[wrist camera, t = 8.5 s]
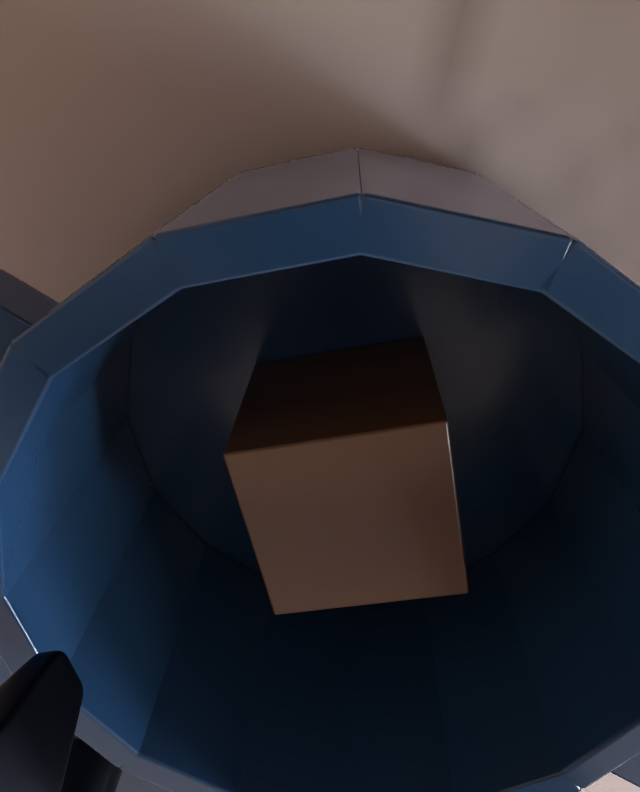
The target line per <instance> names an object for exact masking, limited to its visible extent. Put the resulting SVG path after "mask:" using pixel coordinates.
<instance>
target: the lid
mask: <svg viewBox="0 0 640 792" xmlns="http://www.w3.org/2000/svg"><path fill="white" fill-rule="evenodd" d="M11 676H12V674H11V672H10V671H9V669H8V667H7V666H6V664H5V663H4V661H3V659H2V658H1V656H0V686H1V685H2V684H3V683H4V682H5V681H6V680H7V679H8V678H9V677H11ZM61 792H173V791H170V790H168V789H166V788H163V787H161V786H158V785H156V784H154V783H151V782H149V781H146V780H144V779H142V778H139V777H137V776H134V775H132V774H130V773H127V772H125V771H123V770H121V769H119V767H116V766H114V765H113V764H111V763H110V762H109V761H108V760H106V759H105V758H104V757H103V756H101V755H100V754H99V753H98V752H96V751H95V750H94V749H93V748H91V747H90V746H89V745H87V744H86V743H85V742H84V741H82V740H81V739H80V738H79V737H77V736H76V735H75V734H74V738H73V743H72V747H71V751H70V755H69V760H68V764H67V768H66V773H65V777H64V781H63V785H62V789H61Z"/></svg>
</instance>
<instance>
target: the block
mask: <svg viewBox="0 0 640 792" xmlns="http://www.w3.org/2000/svg"><path fill="white" fill-rule="evenodd" d="M223 457H224V460H225V463H226V466H227V469H228V472H229V475H230V478H231V482H232V485H233V488H234V491H235V494H236V497H237V500H238V503H239V506H240V510H241V513H242V516H243V519H244V522H245V525H246V528H247V531H248V534H249V537H250V541H251V544H252V547H253V550H254V553H255V556H256V559H257V562H258V565H259V569H260V572H261V575H262V578H263V581H264V584H265V587H266V590H267V593H268V597H269V600H270V603H271V606H272V609H273V612H274V614H275V615H279V614H288V613H297V612H306V611H315V610H324V609H333V608H342V607H351V606H360V605H369V604H378V603H387V602H396V601H405V600H414V599H423V598H432V597H441V596H450V595H459V594H467V593H468V592H469V586H468V578H467V570H466V562H465V554H464V546H463V537H462V529H461V521H460V513H459V505H458V497H457V489H456V481H455V473H454V465H453V456H452V448H451V440H450V432H449V424H448V419H447V416H446V412H445V409H444V406H443V402H442V399H441V395H440V392H439V388H438V385H437V381H436V378H435V374H434V371H433V367H432V364H431V361H430V357H429V354H428V350H427V347H426V343H425V340H424V337H422V336H420V337H414V338H408V339H402V340H396V341H391V342H385V343H379V344H373V345H367V346H361V347H355V348H349V349H343V350H337V351H331V352H325V353H320V354H314V355H308V356H302V357H296V358H290V359H284V360H278V361H272V362H266V363H260V364H256V365H255V366H254V369H253V372H252V375H251V377H250V380H249V383H248V386H247V389H246V391H245V394H244V397H243V400H242V403H241V405H240V408H239V411H238V414H237V417H236V419H235V422H234V425H233V428H232V431H231V433H230V436H229V439H228V442H227V445H226V447H225V450H224V453H223Z"/></svg>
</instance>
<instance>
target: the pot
mask: <svg viewBox="0 0 640 792" xmlns="http://www.w3.org/2000/svg"><path fill="white" fill-rule="evenodd" d="M420 336H422V337H424V340H425V343H426V347H427V350H428V354H429V357H430V361H431V364H432V367H433V371H434V374H435V378H436V381H437V385H438V388H439V392H440V395H441V399H442V402H443V406H444V409H445V412H446V416H447V419H448V424H449V432H450V440H451V448H452V456H453V465H454V473H455V481H456V489H457V497H458V505H459V513H460V521H461V529H462V537H463V546H464V554H465V562H466V570H467V578H468V586H469V592H468V593H467V594H459V595H450V596H441V597H432V598H423V599H414V600H405V601H396V602H387V603H378V604H369V605H360V606H351V607H342V608H333V609H324V610H315V611H306V612H297V613H288V614H279V615H275V614H274V612H273V609H272V606H271V603H270V600H269V597H268V593H267V590H266V587H265V584H264V581H263V578H262V575H261V572H260V569H259V565H258V562H257V559H256V556H255V553H254V550H253V547H252V544H251V541H250V537H249V534H248V531H247V528H246V525H245V522H244V519H243V516H242V513H241V510H240V506H239V503H238V500H237V497H236V494H235V491H234V488H233V485H232V482H231V478H230V475H229V472H228V469H227V466H226V463H225V460H224V457H223V453H224V450H225V447H226V445H227V442H228V439H229V436H230V433H231V431H232V428H233V425H234V422H235V419H236V417H237V414H238V411H239V408H240V405H241V403H242V400H243V397H244V394H245V391H246V389H247V386H248V383H249V380H250V377H251V375H252V372H253V369H254V366H255V365H256V364H260V363H266V362H272V361H278V360H284V359H290V358H296V357H302V356H308V355H314V354H320V353H325V352H331V351H337V350H343V349H349V348H355V347H361V346H367V345H373V344H379V343H385V342H391V341H396V340H402V339H408V338H414V337H420ZM49 651H62V652H64V653H65V654H66V655H67V657H68V658H69V660H70V662H71V664H72V666H73V667H74V669H75V671H76V673H77V675H78V677H79V678H80V680H81V682H82V686H83V699H82V704H81V708H80V713H79V717H78V721H77V725H76V730H75V735H76V736H77V737H79V738H80V739H81V740H82V741H84V742H85V743H86V744H87V745H89V746H90V747H91V748H93V749H94V750H95V751H96V752H98V753H99V754H100V755H101V756H103V757H104V758H105V759H106V760H108V761H109V762H110V763H111V764H113V765H114V766H116V767H119V769H121V770H123V771H125V772H127V773H130V774H132V775H134V776H137V777H139V778H142V779H144V780H146V781H149V782H151V783H154V784H156V785H158V786H161V787H163V788H166V789H168V790H170V791H173V792H580V791H581V788H586V787H588V786H589V785H591V784H592V783H594V782H595V781H597V780H598V779H600V778H602V777H603V776H605V775H606V774H608V773H609V772H611V773H613V774H615V775H617V776H619V777H621V778H623V779H625V780H627V781H629V782H631V783H633V784H634V785H636V786H638V787H640V287H639V286H638V285H637V284H635V283H634V282H633V281H632V280H630V279H629V278H628V277H626V276H625V275H624V274H622V273H621V272H620V271H618V270H617V269H616V268H615V267H613V266H612V265H611V264H609V263H608V262H607V261H605V260H604V259H603V258H602V257H600V256H599V255H598V254H596V253H595V252H594V251H592V250H591V249H590V248H588V247H587V246H586V245H585V244H583V243H582V242H581V241H579V240H578V239H576V238H575V237H573V236H572V235H570V234H569V233H567V232H566V231H564V230H563V229H561V228H560V227H558V226H557V225H555V224H554V223H552V222H551V221H549V220H548V219H546V218H545V217H543V216H541V215H540V214H538V213H537V212H535V211H534V210H532V209H531V208H529V207H528V206H526V205H525V204H523V203H522V202H520V201H519V200H517V199H516V198H514V197H513V196H511V195H510V194H508V193H507V192H505V191H504V190H502V189H500V188H499V187H497V186H496V185H494V184H493V183H491V182H490V181H488V180H487V179H485V178H484V177H482V176H481V175H477V174H476V173H474V172H469V171H464V170H460V169H455V168H451V167H446V166H441V165H437V164H433V163H430V162H427V161H423V160H420V159H416V158H410V157H403V156H395V155H390V154H386V153H381V152H376V151H372V150H367V149H362V148H359V149H358V150H357V148H353V149H348V150H343V151H338V152H334V153H329V154H324V155H319V156H312V157H304V158H298V159H295V160H291V161H288V162H284V163H281V164H277V165H273V166H268V167H263V168H259V169H254V170H249V171H244V172H241V173H239V174H237V175H235V176H233V177H232V178H230V179H229V180H228V181H226V182H225V183H223V184H222V185H221V186H219V187H218V188H216V189H215V190H214V191H212V192H211V193H209V194H208V195H207V196H205V197H204V198H202V199H201V200H200V201H198V202H197V203H195V204H194V205H193V206H191V207H190V208H188V209H187V210H186V211H184V212H183V213H182V214H180V215H179V216H177V217H176V218H175V219H173V220H172V221H170V222H169V223H168V224H166V225H165V226H163V227H162V228H161V229H159V230H158V231H156V232H155V233H154V234H152V235H151V236H149V237H148V238H147V239H145V240H144V241H143V242H141V243H140V244H139V245H137V246H136V247H135V248H133V249H132V250H131V251H129V252H128V253H127V254H125V255H124V256H123V257H121V258H120V259H118V260H117V261H116V262H114V263H113V264H112V265H110V266H109V267H108V268H106V269H105V270H104V271H102V272H101V273H100V274H98V275H97V276H96V277H94V278H93V279H92V280H90V281H89V282H88V283H86V284H85V285H84V286H82V287H81V288H80V289H78V290H77V291H76V292H74V293H73V294H71V295H70V296H69V297H67V298H66V299H65V300H63V301H62V302H61V303H58V302H57V301H55V300H53V299H52V298H50V297H48V296H46V295H45V294H43V293H41V292H40V291H38V290H36V289H35V288H33V287H31V286H29V285H28V284H26V283H24V282H23V281H21V280H19V279H18V278H16V277H14V276H12V275H11V274H9V273H7V272H6V271H4V270H2V269H1V268H0V656H1V658H2V659H3V661H4V663H5V664H6V666H7V667H8V669H9V671H10V672H11V674H12V675H13V674H14V673H15V672H16V671H17V670H18V669H19V668H21V667H22V666H23V665H24V664H25V663H26V662H27V661H28V660H29V659H31V658H32V657H33V656H34V655H36V654H38V653H41V652H49Z"/></svg>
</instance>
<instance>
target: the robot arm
mask: <svg viewBox="0 0 640 792" xmlns="http://www.w3.org/2000/svg"><path fill="white" fill-rule="evenodd" d="M82 699H83V686H82V682H81V680H80V678H79V677H78V675H77V673H76V671H75V669H74V667H73V666H72V664H71V662H70V660H69V658H68V657H67V655H66V654H65V653H64V652H62V651H49V652H41V653H38V654H36V655H34V656H33V657H32V658H31V659H29V660H28V661H27V662H26V663H25V664H24V665H23V666H22V667H21V668H19V669H18V670H17V671H16V672H15V673H14V674H13V675H12V676H11V677H9V678H8V679H7V680H6V681H5V682H4V683H3V684H2V685H1V686H0V792H61V789H62V785H63V781H64V777H65V773H66V768H67V764H68V760H69V755H70V751H71V747H72V743H73V738H74V734H75V730H76V725H77V721H78V717H79V713H80V708H81V704H82Z"/></svg>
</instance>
